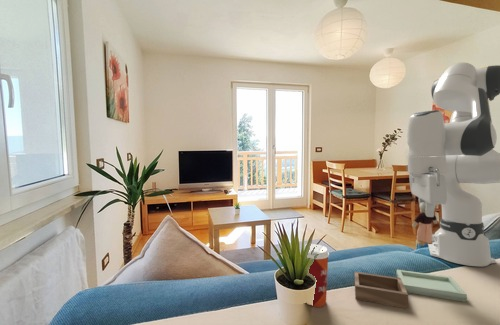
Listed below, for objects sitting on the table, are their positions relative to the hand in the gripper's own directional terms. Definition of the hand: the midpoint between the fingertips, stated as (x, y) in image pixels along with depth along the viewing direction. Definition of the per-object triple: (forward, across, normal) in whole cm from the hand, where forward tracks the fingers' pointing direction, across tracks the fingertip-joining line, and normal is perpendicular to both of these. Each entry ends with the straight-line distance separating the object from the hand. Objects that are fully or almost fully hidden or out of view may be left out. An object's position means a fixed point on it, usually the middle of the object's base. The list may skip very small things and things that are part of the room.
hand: (426, 214), depth 69 cm
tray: (+21, 0, 0) cm, 21 cm away
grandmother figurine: (+9, +2, 0) cm, 9 cm away
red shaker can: (+21, -18, +30) cm, 41 cm away
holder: (+21, -9, +14) cm, 27 cm away
